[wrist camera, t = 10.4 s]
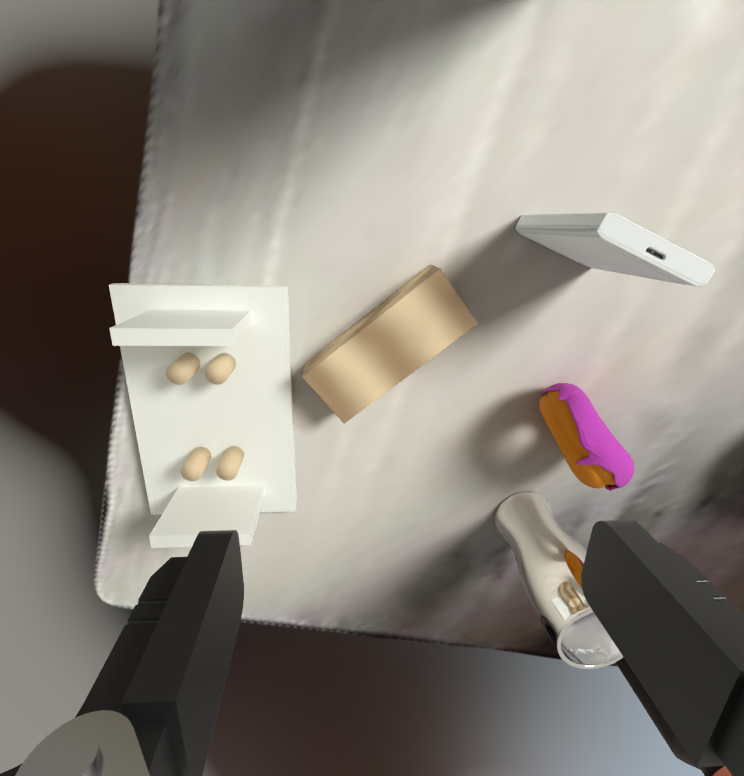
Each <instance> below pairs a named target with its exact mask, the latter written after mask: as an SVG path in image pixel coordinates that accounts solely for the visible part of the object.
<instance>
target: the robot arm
mask: <svg viewBox="0 0 744 776" xmlns="http://www.w3.org/2000/svg"><path fill="white" fill-rule="evenodd" d="M581 584H582V589H583V593H584V596H585V598H586V601H587V602H588V604H589V606H590V607H591V609H592V610H593V612H594V613H595V615H596V616H597V618H598V619H599V621H600V622H601V624H602V625H603V627H604V628H605V630H606V631H607V633H608V635H609V636H610V638H611V639H612V641H613V642H614V644H615V645H616V647H617V648H618V650H619V651H620V653H621V654H622V656H623V657H624V659H625V660H626V662H627V663H628V665H629V666H630V668H631V669H632V671H633V672H634V674H635V675H636V677H637V678H638V680H639V681H640V683H641V684H642V686H643V687H644V689H645V690H646V692H647V693H648V695H649V697H650V698H651V700H652V701H653V703H654V704H655V706H656V707H657V709H658V710H659V712H660V713H661V715H662V716H663V718H664V719H665V721H666V722H667V724H668V725H669V727H670V728H671V730H672V731H673V733H674V734H675V736H676V737H677V739H678V740H679V742H680V743H681V745H682V746H683V748H684V749H685V751H686V752H687V754H688V755H689V757H690V759H691V760H692V762H693V763H694V765H695V766H696V768H699V767H713V766H726V768H727V769H728V770H729V772H730V773H731V775H732V776H744V613H743V612H741V611H740V610H739V609H738V608H737V607H736V606H735V605H734V604H733V603H732V602H731V601H730V600H726V599H725V595H724V594H723V593H722V592H721V591H720V590H719V589H717V588H716V587H715V586H714V585H713V584H712V583H708V579H707V578H706V577H705V576H704V575H703V574H702V573H701V572H700V571H699V570H698V569H697V568H696V567H695V566H693V565H692V564H691V563H690V562H689V561H688V560H687V559H686V558H684V557H682V556H681V555H679V554H678V553H676V552H675V551H673V550H671V549H670V548H668V547H667V546H665V545H663V544H662V543H658V542H657V541H656V540H655V539H654V538H653V537H652V536H651V535H650V534H649V533H648V532H647V531H646V530H645V529H644V528H643V527H642V526H641V525H639V524H638V523H637V522H635V521H632V520H619V521H598V522H597V523H595V525H594V526H593V529H592V533H591V537H590V541H589V545H588V549H587V553H586V557H585V561H584V565H583V569H582V574H581ZM243 600H244V583H243V573H242V563H241V553H240V543H239V535H238V532H237V530H219V531H200V532H199V533H198V535H197V537H196V539H195V541H194V543H193V546H192V548H191V550H190V552H189V555H188V557H171V558H170V559H169V560H168V561H167V562H166V563H165V564H164V565H163V566H162V567H161V568H160V569H159V570H158V571H156V572H155V573H154V574H153V575H152V576H151V577H150V579H149V581H148V583H147V585H146V587H145V589H144V590H143V592H142V594H141V596H140V598H139V600H138V605H136V606H135V607H134V609H133V611H132V613H131V615H130V617H129V619H128V624H127V625H125V626H124V628H123V630H122V632H121V634H120V636H119V638H118V640H117V641H116V643H115V645H114V647H113V649H112V651H111V653H110V655H109V657H108V659H107V660H106V662H105V664H104V666H103V668H102V670H101V672H100V673H99V676H98V677H97V679H96V681H95V683H94V685H93V687H92V689H91V690H90V693H89V694H88V696H87V698H86V700H85V702H84V704H83V706H82V707H81V709H80V711H79V712H78V714H77V715H76V717H75V718H74V719H72V720H70V721H68V722H66V723H64V724H63V725H61V726H60V727H58V728H57V729H55V730H54V731H53V732H52V733H50V734H49V735H48V736H47V737H45V738H44V740H42V741H41V742H40V743H39V744H38V745H37V746H36V747H35V748H34V750H33V751H32V752H31V753H30V754H29V755H28V757H27V758H26V759H25V761H24V762H23V763H22V764H21V765H19V766H17V767H15V768H13V769H11V770H8V771H6V772H4V773H1V774H0V776H202V774H203V770H204V766H205V762H206V758H207V754H208V750H209V746H210V742H211V737H212V734H213V729H214V726H215V721H216V717H217V713H218V709H219V705H220V701H221V697H222V693H223V689H224V685H225V681H226V677H227V672H228V668H229V664H230V660H231V656H232V652H233V648H234V644H235V640H236V636H237V631H238V627H239V624H240V620H241V615H242V609H243Z"/></svg>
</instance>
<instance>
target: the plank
mask: <svg viewBox="0 0 744 776" xmlns="http://www.w3.org/2000/svg"><path fill="white" fill-rule="evenodd" d="M477 324H478V323H477V321H476V320H475V318H474V317H473V316H472V314H471V313H470V311H469V310H468V308H467V307H466V305H465V304H464V302H463V301H462V300H461V298H460V297H459V295H458V294H457V292H456V291H455V289H454V288H453V287H452V285H451V284H450V282H449V281H448V279H447V278H446V276H445V275H444V273H443V272H442V271H441V269H440V268H437V267H435V266H433V265H429V266H428V267H427V268H426V269H424V270H423V271H422V272H421V273H419V274H418V275H417V276H416V277H414V278H413V279H412V280H410V281H409V282H408V283H407V284H405V285H404V286H403V287H402V288H400V289H399V290H398V291H397V292H395V293H394V294H393V295H391V296H390V297H389V298H388V299H386V300H385V301H384V302H383V303H381V304H380V305H379V306H378V307H376V308H375V309H374V310H372V311H371V312H370V313H369V314H367V315H366V316H365V317H364V318H362V319H361V320H360V321H359V322H357V323H356V324H355V325H353V326H352V327H351V328H350V329H348V330H347V331H346V332H345V333H343V334H342V335H341V336H340V337H338V338H337V339H336V340H334V341H333V342H332V343H331V344H329V345H328V346H327V347H326V348H324V349H323V350H322V351H321V352H319V353H318V354H317V355H315V356H314V357H313V358H312V359H310V360H309V361H308V362H307V363H305V366H304V371H303V375H302V378H303V379H304V380H305V381H306V382H307V383H308V384H309V385H310V386H311V388H312V389H313V390H314V391H315V392H316V393H317V394H318V395H319V396H320V397H321V399H322V400H323V401H324V402H325V403H326V404H327V405H328V406H329V407H330V409H331V410H332V411H333V412H334V413H335V414H336V415H337V416H338V417H339V418H340V420H341V421H342V422H343V423H346V422H347V421H348V420H350V419H351V418H352V417H354V416H355V415H356V414H358V413H359V412H360V411H362V410H363V409H364V408H366V407H367V406H368V405H370V404H371V403H372V402H374V401H375V400H376V399H378V398H379V397H380V396H382V395H383V394H385V393H386V392H387V391H389V390H390V389H391V388H393V387H394V386H395V385H397V384H398V383H399V382H401V381H402V380H403V379H405V378H406V377H407V376H409V375H410V374H411V373H413V372H414V371H415V370H417V369H418V368H419V367H421V366H422V365H423V364H425V363H426V362H427V361H429V360H430V359H431V358H433V357H434V356H435V355H437V354H438V353H439V352H441V351H442V350H444V349H445V348H446V347H448V346H449V345H450V344H452V343H453V342H454V341H456V340H457V339H458V338H460V337H461V336H462V335H464V334H465V333H466V332H468V331H469V330H470V329H472V328H473V327H474V326H476V325H477Z"/></svg>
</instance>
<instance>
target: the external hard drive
mask: <svg viewBox="0 0 744 776" xmlns="http://www.w3.org/2000/svg"><path fill="white" fill-rule="evenodd" d="M515 230H516V231H517V232H518V233H519V234H521V235H523V236H525V237H527V238H529V239H531V240H533V241H535V242H537V243H539V244H541V245H543V246H545V247H547V248H549V249H551V250H553V251H555V252H557V253H559V254H561V255H563V256H565V257H567V258H569V259H571V260H573V261H576V262H578V263H580V264H582V265H584V266H586V267H590V268H595V269H601V270H606V271H612V272H617V273H623V274H628V275H634V276H639V277H645V278H650V279H656V280H661V281H667V282H673V283H678V284H685V285H686V284H687V285H693V286H699V287H702V286H705V285H706V283H707V282H708V280H709V279H710V277H711V276H712V274H713V273H714V271H715V268H714V267H713V265H712V264H711V263H709V262H707V261H705V260H703V259H701V258H700V257H698V256H696V255H694V254H692V253H690V252H688V251H686V250H684V249H682V248H681V247H679V246H676V245H675V244H673V243H671V242H669V241H667V240H665V239H663V238H661V237H659V236H657V235H655V234H654V233H652V232H650V231H648V230H646V229H644V228H642V227H640V226H639V225H637V224H635V223H633V222H631V221H629V220H627V219H625V218H624V217H622V216H620V215H618V214H615V213H580V214H540V215H522V216H521V217H520V219H519V221H518V223H517V225H516V227H515Z"/></svg>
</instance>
